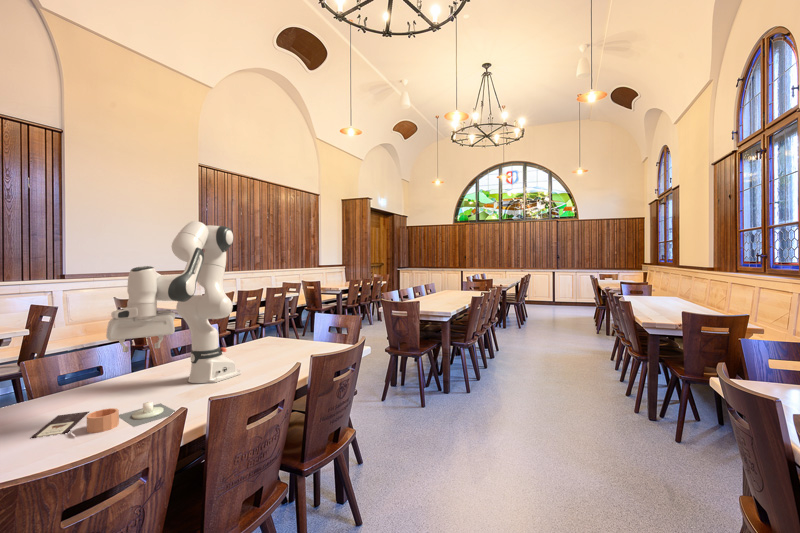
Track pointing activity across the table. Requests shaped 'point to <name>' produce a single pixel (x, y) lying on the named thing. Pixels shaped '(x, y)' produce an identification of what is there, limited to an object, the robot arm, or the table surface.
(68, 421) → the chocolate bar
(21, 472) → the table surface
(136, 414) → the lid
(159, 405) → the mat
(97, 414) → the cup
